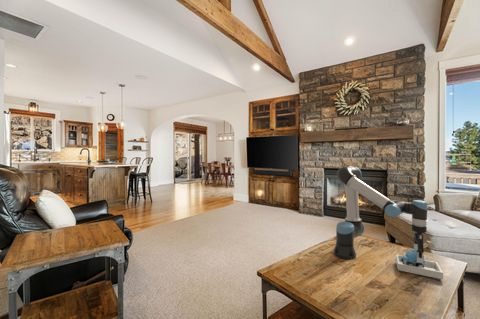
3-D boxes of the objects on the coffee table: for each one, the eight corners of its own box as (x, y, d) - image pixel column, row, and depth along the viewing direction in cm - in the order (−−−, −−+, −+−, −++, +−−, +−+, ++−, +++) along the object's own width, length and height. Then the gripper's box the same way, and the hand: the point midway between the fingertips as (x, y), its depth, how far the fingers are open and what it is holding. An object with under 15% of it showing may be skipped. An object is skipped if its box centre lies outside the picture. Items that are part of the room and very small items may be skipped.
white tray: (397, 272, 149) (398, 263, 149) (395, 262, 162) (396, 254, 162) (442, 281, 138) (443, 272, 138) (436, 270, 151) (437, 262, 151)
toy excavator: (436, 272, 145) (437, 244, 144) (406, 269, 148) (406, 242, 147) (428, 265, 153) (429, 239, 152) (399, 262, 156) (400, 237, 156)
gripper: (430, 232, 136) (429, 267, 137) (423, 220, 158) (421, 251, 159) (414, 229, 140) (413, 264, 141) (409, 219, 162) (408, 249, 163)
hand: (417, 258), depth 150 cm, fingers open, 13 cm apart
